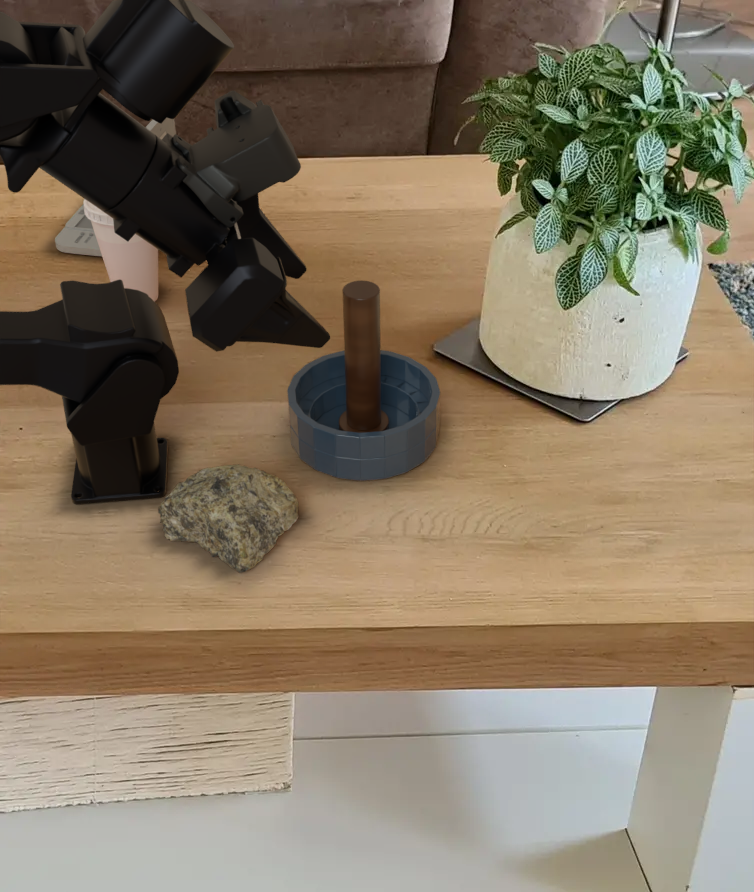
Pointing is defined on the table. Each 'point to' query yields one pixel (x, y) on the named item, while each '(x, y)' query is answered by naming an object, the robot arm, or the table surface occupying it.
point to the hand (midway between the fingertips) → (313, 306)
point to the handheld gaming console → (79, 227)
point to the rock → (230, 513)
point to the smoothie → (125, 254)
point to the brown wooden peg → (362, 359)
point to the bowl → (369, 453)
